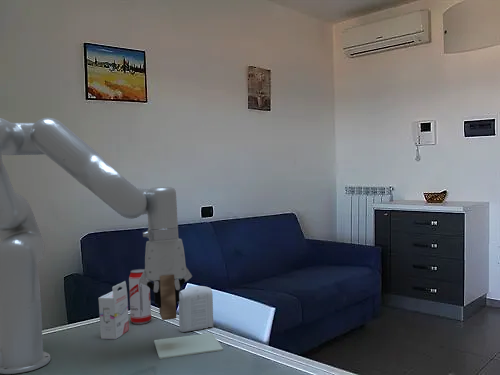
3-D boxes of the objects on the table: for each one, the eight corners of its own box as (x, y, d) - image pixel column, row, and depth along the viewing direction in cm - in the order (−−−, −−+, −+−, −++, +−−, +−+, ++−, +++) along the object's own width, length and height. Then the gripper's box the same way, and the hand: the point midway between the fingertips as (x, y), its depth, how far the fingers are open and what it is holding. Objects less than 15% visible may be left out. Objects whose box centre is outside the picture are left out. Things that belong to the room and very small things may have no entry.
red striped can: (145, 318, 158) (143, 268, 158) (155, 321, 154) (152, 270, 153) (127, 322, 154) (125, 270, 154) (136, 326, 150) (134, 273, 149)
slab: (162, 320, 125) (160, 276, 124) (159, 313, 131) (157, 271, 131) (176, 318, 126) (174, 275, 125) (172, 311, 132) (170, 270, 132)
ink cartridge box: (113, 329, 147) (111, 280, 147) (129, 330, 146) (127, 280, 146) (99, 339, 139) (97, 286, 138) (116, 339, 138) (113, 286, 137)
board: (159, 359, 121) (159, 357, 121) (153, 341, 134) (153, 340, 134) (223, 350, 125) (223, 348, 125) (211, 334, 139) (211, 332, 139)
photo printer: (210, 324, 149) (208, 283, 149) (215, 327, 145) (214, 285, 145) (177, 329, 144) (175, 287, 144) (182, 333, 141) (180, 290, 140)
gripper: (131, 239, 122) (135, 313, 123) (197, 233, 127) (201, 305, 127) (129, 236, 129) (133, 306, 130) (192, 231, 134) (196, 298, 134)
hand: (167, 304), depth 128 cm, fingers closed on slab, 3 cm apart
